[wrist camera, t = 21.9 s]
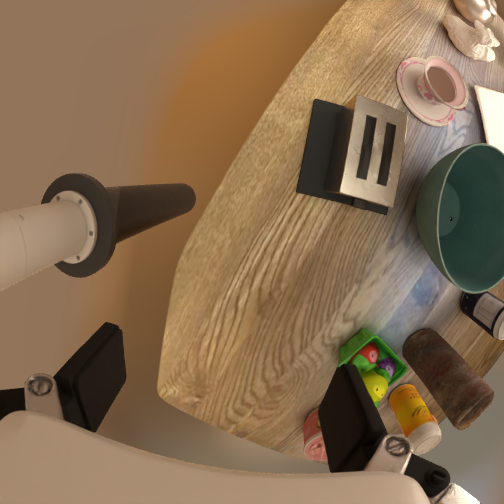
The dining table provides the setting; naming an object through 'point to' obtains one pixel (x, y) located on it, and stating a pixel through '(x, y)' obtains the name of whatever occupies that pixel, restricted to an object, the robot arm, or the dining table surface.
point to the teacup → (431, 89)
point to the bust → (471, 38)
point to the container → (314, 438)
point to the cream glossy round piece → (477, 10)
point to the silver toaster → (367, 152)
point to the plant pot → (465, 217)
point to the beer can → (414, 418)
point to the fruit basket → (373, 363)
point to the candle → (448, 377)
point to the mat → (323, 155)
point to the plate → (492, 115)
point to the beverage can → (485, 312)
